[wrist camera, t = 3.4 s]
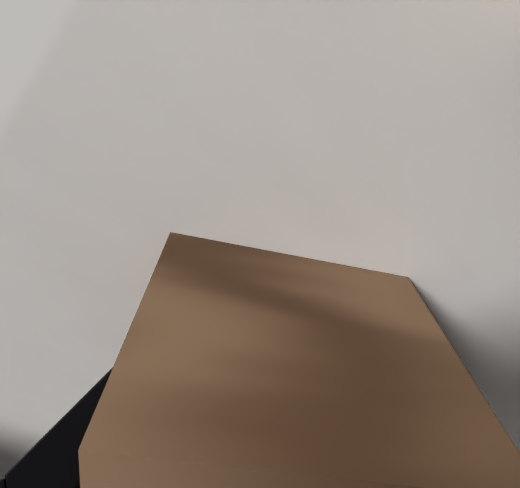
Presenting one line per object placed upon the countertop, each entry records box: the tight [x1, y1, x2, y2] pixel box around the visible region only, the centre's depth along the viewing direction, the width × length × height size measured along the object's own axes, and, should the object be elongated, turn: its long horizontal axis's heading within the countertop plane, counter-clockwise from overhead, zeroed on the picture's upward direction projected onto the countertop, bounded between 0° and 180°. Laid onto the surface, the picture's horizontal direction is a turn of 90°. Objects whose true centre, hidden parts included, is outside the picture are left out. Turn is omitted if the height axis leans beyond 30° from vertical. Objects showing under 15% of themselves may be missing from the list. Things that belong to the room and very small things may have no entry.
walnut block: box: [78, 232, 520, 488], centre depth 8 cm, size 6×6×5 cm
